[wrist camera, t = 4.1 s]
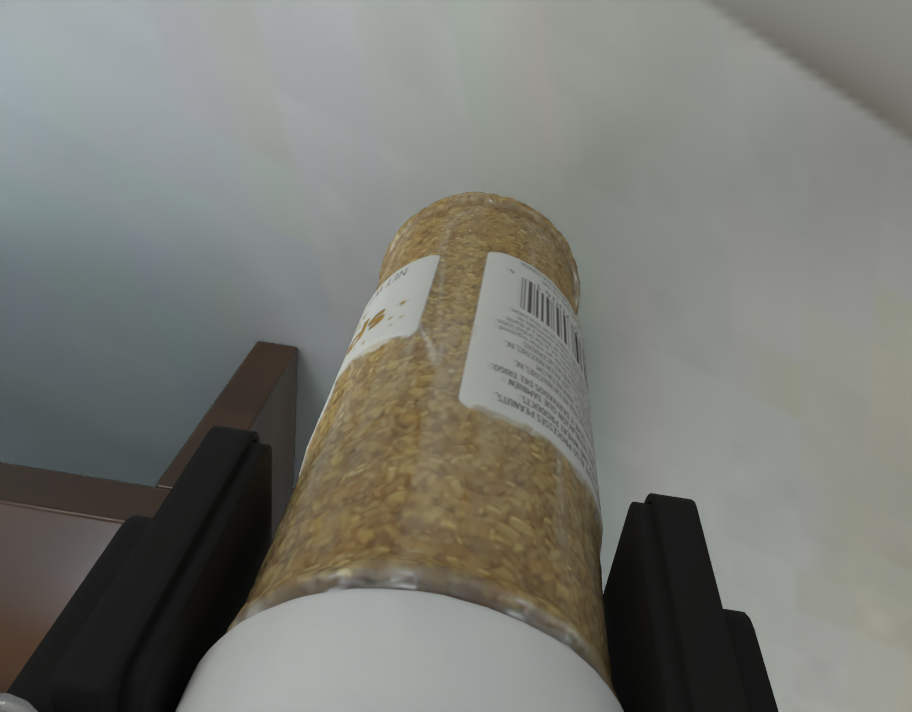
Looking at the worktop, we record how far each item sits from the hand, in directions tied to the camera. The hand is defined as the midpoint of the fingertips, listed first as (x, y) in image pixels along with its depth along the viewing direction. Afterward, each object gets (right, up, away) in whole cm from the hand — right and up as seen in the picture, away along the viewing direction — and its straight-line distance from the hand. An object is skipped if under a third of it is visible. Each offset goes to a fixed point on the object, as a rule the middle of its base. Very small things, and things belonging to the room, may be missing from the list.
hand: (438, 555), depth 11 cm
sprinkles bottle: (+1, +4, +8) cm, 9 cm away
